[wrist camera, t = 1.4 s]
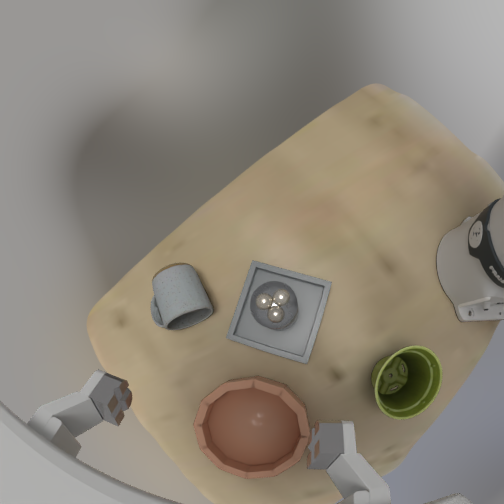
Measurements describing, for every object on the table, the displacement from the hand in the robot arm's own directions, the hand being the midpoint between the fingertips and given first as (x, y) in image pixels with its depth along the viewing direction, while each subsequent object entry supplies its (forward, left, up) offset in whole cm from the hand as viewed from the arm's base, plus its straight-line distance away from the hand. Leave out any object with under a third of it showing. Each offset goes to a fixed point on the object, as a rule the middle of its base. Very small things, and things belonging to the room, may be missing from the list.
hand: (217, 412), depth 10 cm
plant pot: (-17, -2, -30) cm, 34 cm away
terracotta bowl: (0, +11, -29) cm, 31 cm away
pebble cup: (+2, -7, -29) cm, 30 cm away
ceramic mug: (+17, -3, -30) cm, 34 cm away
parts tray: (+2, -7, -29) cm, 30 cm away
